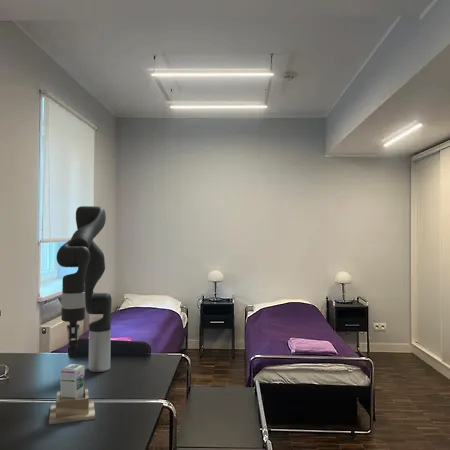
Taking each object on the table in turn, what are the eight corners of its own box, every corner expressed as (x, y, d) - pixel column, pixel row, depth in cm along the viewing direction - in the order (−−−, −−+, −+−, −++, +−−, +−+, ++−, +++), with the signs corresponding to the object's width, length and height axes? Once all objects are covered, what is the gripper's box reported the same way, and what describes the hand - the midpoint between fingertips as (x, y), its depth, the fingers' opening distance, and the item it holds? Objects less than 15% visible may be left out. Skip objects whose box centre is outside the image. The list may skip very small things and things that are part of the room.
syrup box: (76, 414, 145) (76, 369, 146) (59, 412, 147) (60, 368, 147) (85, 407, 151) (85, 364, 151) (69, 405, 152) (69, 363, 152)
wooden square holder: (51, 407, 153) (51, 390, 153) (93, 402, 158) (93, 385, 158) (48, 424, 140) (49, 405, 140) (95, 418, 144) (95, 400, 144)
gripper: (85, 308, 144) (85, 359, 143) (84, 301, 157) (84, 347, 157) (60, 310, 141) (60, 361, 141) (62, 302, 155) (61, 349, 155)
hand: (73, 354), depth 149 cm, fingers open, 8 cm apart
